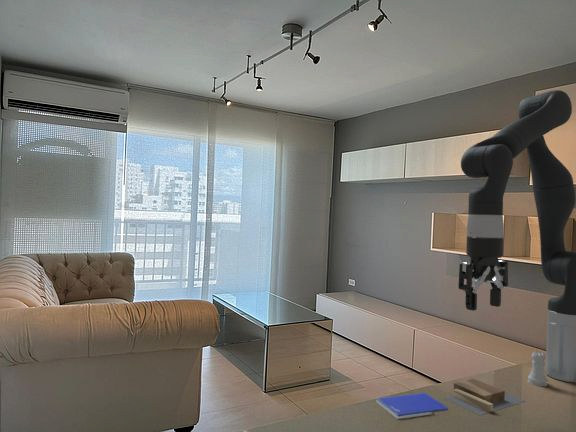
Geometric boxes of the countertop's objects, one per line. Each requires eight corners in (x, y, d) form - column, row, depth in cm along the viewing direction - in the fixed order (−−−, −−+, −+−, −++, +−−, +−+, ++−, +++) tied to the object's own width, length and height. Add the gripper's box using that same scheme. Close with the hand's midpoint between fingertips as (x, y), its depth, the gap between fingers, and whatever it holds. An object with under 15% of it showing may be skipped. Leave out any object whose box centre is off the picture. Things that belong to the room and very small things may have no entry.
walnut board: (453, 391, 101) (473, 387, 105) (484, 405, 94) (504, 399, 98) (453, 383, 101) (474, 378, 105) (484, 396, 94) (504, 391, 98)
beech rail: (456, 395, 99) (457, 388, 99) (492, 411, 91) (493, 404, 91) (452, 396, 98) (452, 389, 98) (488, 412, 91) (488, 405, 91)
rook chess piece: (551, 386, 109) (552, 354, 109) (542, 389, 106) (543, 356, 106) (532, 380, 112) (533, 349, 112) (523, 383, 110) (524, 351, 110)
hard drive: (397, 414, 87) (448, 407, 91) (376, 397, 95) (423, 391, 99) (397, 422, 87) (447, 414, 91) (375, 404, 95) (423, 398, 99)
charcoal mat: (489, 388, 105) (489, 386, 105) (525, 403, 97) (525, 401, 97) (444, 400, 97) (444, 398, 97) (479, 417, 89) (479, 415, 89)
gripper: (489, 234, 104) (488, 302, 104) (449, 234, 97) (448, 307, 97) (519, 235, 98) (518, 308, 98) (479, 236, 90) (478, 314, 90)
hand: (483, 307), depth 97 cm, fingers open, 8 cm apart
